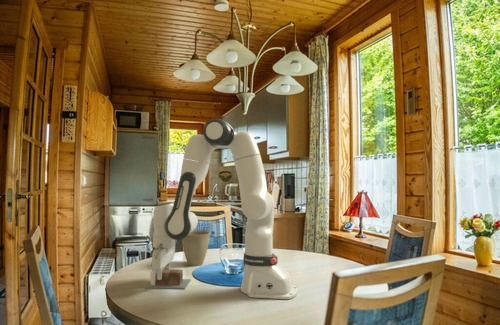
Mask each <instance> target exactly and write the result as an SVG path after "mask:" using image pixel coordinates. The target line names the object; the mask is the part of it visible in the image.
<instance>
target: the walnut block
mask: <svg viewBox="0 0 500 325" xmlns="http://www.w3.org/2000/svg"><path fill="white" fill-rule="evenodd" d="M183 273H184V270H183V269H173V268H172V269H170V268H169V269H165V268H163V269H162V274H163V276H162V277H163V278H162V279H161V280H158V279H157V273H156V271H154V270H152V271H151V272H150V281H149V283H150V285H180V284H181V283H182V282H183V279H184V278H183V277H184V275H183Z"/></svg>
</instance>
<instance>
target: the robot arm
mask: <svg viewBox="0 0 500 325" xmlns="http://www.w3.org/2000/svg"><path fill="white" fill-rule="evenodd" d="M202 133H203V134H201V133H200V134H198V133H197V134H194V135H191V136H190V137H189V138H188V141H187V144H186V146H185V149H184V153H183V159H182V164H181V171H180V176H179V182H178V186H177V190H176V193H175V198H174V202H164V203H160V204H158V205H156V206H155V207H154V212H153V221H152V222H153V224H152V225H153V232H152V233H153V234H152V247H153V248H155V249H154V250H153V252H152V256H151V269H152V271H153V270H154V271H156V273H157V279H158V280H161V279H162V278H163V277H162V276H163V274H162V269H170V267H171V261H173V260H174V258H175V254H176V253H175V252H176V244H177V241H182V239H184V238H185V237H186V236H187V235H188V234H190V233H191V232H193V231H196V229H197V228H198V224H199V220H198V216H197V215H196V214H195V213H194V212H193V211H191V210H190V209H191V204H192V200H193V197H194V193H195V191H196V189H197V188H198V186H199V185H200V184H201V183H202V182H203V181H204V180H205V179H206V177H207V174H208V172H209V168H210V163H211V157H212V154H213V152H214V151H222V150H230V153H231V155H232V158H233V159H232V160H233V163H234V167H235V171H236V175H237V179H238V187H239V194H240V195H239V196H240V203H241V211H242V213H243V215H244V216H245V217H246V218H247V220H246V221H247V222H246V226H245V227H246V228H245V231H244V253H243V260H242V261H243V264H242V265H243V277H242V280H241V282H242V283H241V284H240V285H241V286H240V288H239V289H240V291H241V292H242V293H243V294H245V295H247V296H248V297H249V298H256V299H257V298H258V299H259V298H260V299H275V300H291V299H293V298H295V297H296V296H297V295H298V293H299V290H298V289H299V288H298V287H297V286H296V285H294V284H293V281H292V277H291V274H290V273H289V272H288V271H287V270H286V269H285V268H283V267H282V266H281V265H280V264H278V259H279V258H278V257H279V256H278V254H277V255H275V254H274V253H273V250H274V247H273V245H274V244H273V242H274V241H273V239H274V238H273V237H274V236H273V234H274V233H273V232H274V224H275V223H274V221H275V219H274V217H275V198H274V197H273V195H272V194H271V193H270V192H268V187H267V178H266V172H265V167H264V164H263V161H262V160H263V159H262V156H261V152H260V149H259V146H258V143H257V142H256V139H255V137H254V135H253V134H252V133H251V132H249V131H247V130H246V131H245V130H244V131H243V130H242V131H238V132H237V131H236V130H235V128H233V127H232V125H231V124H229V123H228V122H226V121H225V120H223V119H222V118H212V119H210V120H208V121H207V122H206V123H205V125H204V126H203V132H202Z"/></svg>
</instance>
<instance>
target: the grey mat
mask: <svg viewBox="0 0 500 325" xmlns="http://www.w3.org/2000/svg"><path fill="white" fill-rule="evenodd" d="M190 283H191V278H183V282H182V283H181V284H180V285H150V282H148V283H147V285H145V286H144V289H150V290H151V289H155V290H156V289H157V290H159V289H160V290H186V288H187V287H188V286H189V284H190Z"/></svg>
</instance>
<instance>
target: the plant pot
mask: <svg viewBox="0 0 500 325" xmlns="http://www.w3.org/2000/svg"><path fill="white" fill-rule="evenodd" d="M210 237H211V232H210V231H207V230H194V231H193V232H191V233H190V234H188V235H187V236H186V237H185V238H184V239H181V244H182V248H183V253H184V256H185V259H186V262H187V265H188V266H190V267H191V266H192V267H197V266H201V265H203V263H204V262H205V258H206V255H207V252H208V249H209V244H210Z"/></svg>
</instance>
